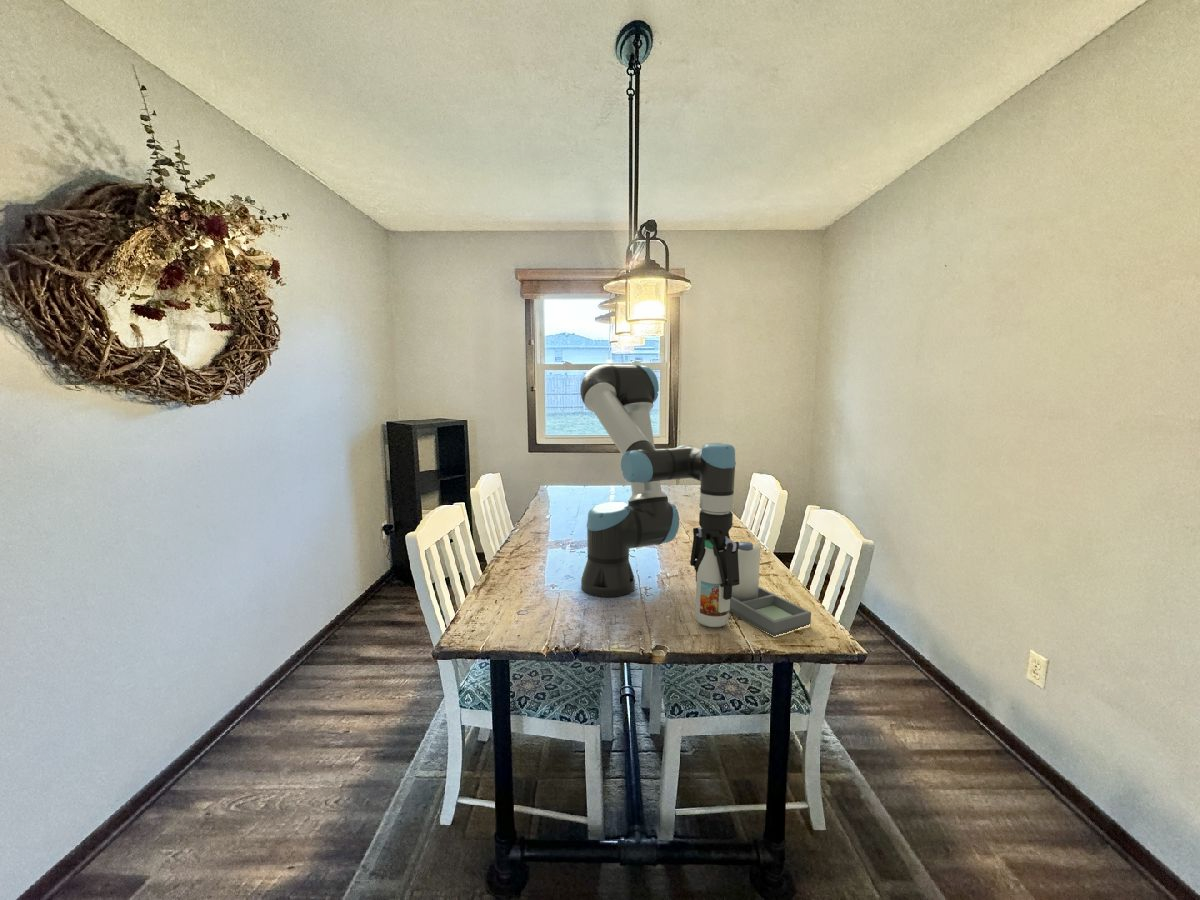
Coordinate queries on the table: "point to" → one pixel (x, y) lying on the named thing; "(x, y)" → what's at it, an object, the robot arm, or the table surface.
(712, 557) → the milk bottle
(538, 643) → the table surface
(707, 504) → the robot arm
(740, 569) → the twin bottle
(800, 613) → the tray
